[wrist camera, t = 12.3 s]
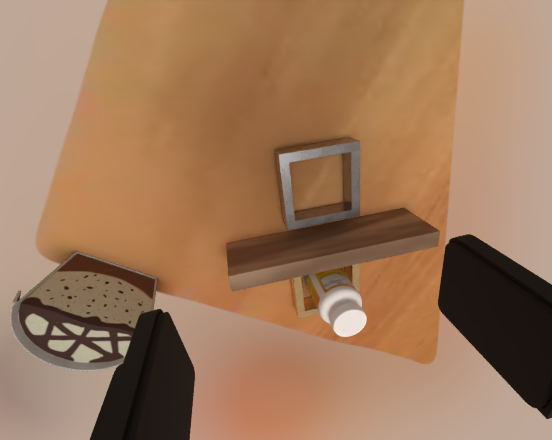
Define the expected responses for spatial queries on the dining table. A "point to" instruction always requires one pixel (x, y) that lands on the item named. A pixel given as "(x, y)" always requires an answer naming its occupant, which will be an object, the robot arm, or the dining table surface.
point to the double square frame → (320, 214)
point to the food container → (83, 313)
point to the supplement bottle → (337, 301)
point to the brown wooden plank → (327, 247)
